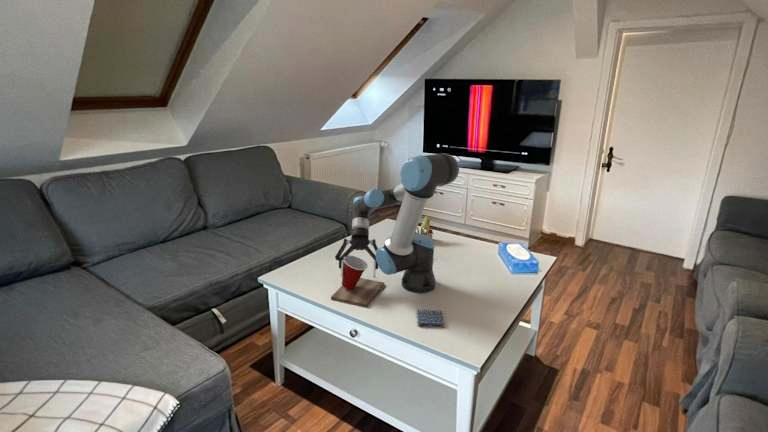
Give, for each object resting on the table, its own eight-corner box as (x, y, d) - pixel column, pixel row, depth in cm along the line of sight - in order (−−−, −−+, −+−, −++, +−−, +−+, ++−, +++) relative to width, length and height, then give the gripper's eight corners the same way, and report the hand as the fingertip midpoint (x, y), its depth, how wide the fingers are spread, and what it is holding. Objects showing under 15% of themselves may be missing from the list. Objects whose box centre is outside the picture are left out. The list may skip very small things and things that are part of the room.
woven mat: (442, 313, 163) (442, 309, 162) (445, 329, 153) (445, 324, 152) (415, 312, 163) (416, 308, 162) (417, 328, 153) (417, 323, 152)
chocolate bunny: (415, 243, 229) (417, 217, 225) (426, 237, 238) (427, 213, 233) (426, 246, 226) (427, 220, 221) (436, 240, 234) (438, 215, 229)
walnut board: (384, 284, 183) (384, 282, 183) (366, 307, 166) (366, 304, 165) (351, 278, 189) (351, 276, 188) (331, 299, 171) (330, 296, 171)
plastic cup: (357, 295, 172) (365, 270, 169) (333, 286, 173) (340, 262, 170) (363, 284, 183) (370, 261, 179) (340, 276, 184) (347, 252, 180)
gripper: (388, 233, 186) (387, 279, 176) (333, 232, 186) (329, 278, 176) (388, 226, 179) (387, 273, 170) (331, 225, 179) (327, 272, 170)
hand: (358, 276), depth 173 cm, fingers open, 13 cm apart
